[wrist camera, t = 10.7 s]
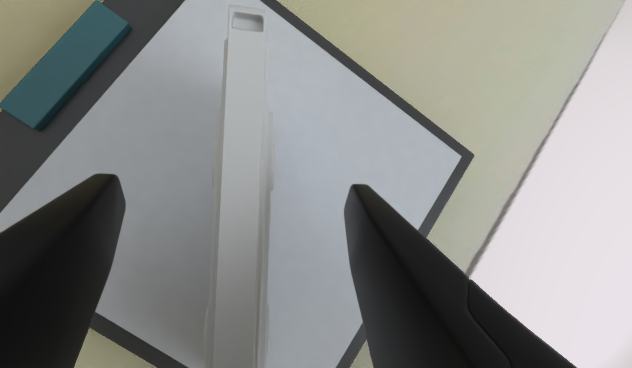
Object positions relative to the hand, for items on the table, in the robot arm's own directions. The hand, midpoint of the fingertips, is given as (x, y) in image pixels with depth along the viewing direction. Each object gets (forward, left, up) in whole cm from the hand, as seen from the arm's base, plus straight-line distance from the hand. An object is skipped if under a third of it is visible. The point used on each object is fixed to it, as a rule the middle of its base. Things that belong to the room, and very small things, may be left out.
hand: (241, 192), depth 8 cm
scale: (0, -1, -10) cm, 10 cm away
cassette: (-1, +1, -7) cm, 7 cm away
